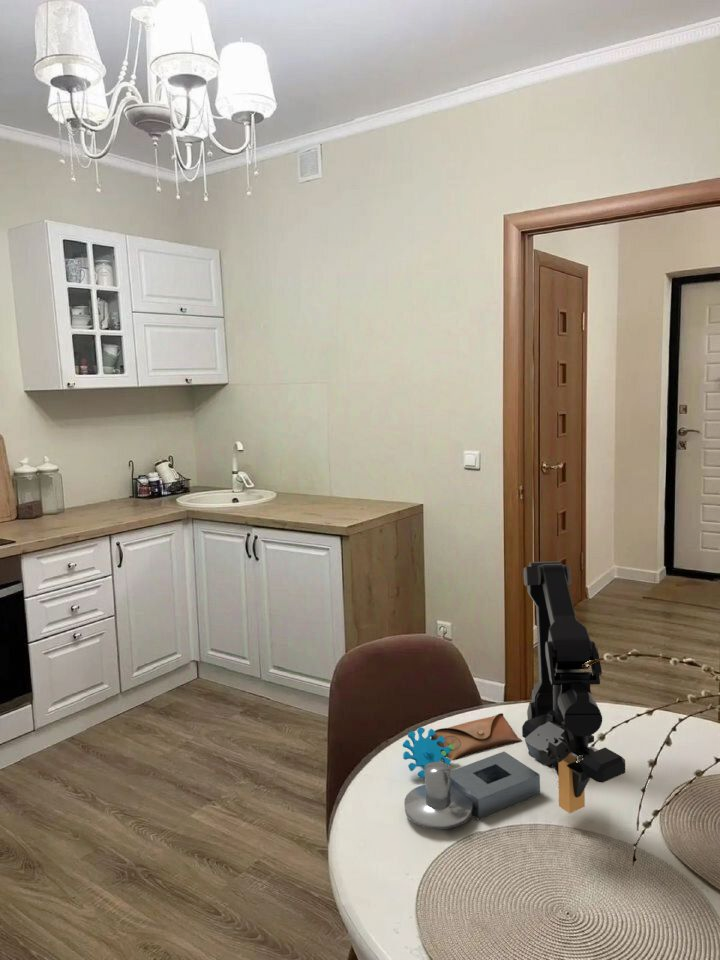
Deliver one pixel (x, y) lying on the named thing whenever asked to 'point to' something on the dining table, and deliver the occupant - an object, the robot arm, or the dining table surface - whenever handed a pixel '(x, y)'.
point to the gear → (426, 750)
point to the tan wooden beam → (568, 787)
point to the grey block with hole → (470, 791)
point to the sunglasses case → (476, 736)
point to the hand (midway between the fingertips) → (571, 792)
